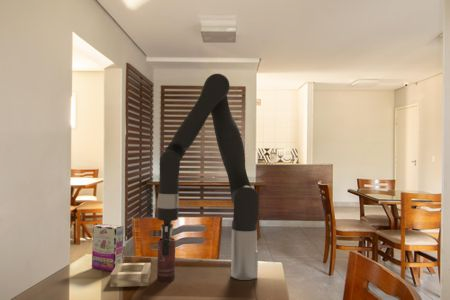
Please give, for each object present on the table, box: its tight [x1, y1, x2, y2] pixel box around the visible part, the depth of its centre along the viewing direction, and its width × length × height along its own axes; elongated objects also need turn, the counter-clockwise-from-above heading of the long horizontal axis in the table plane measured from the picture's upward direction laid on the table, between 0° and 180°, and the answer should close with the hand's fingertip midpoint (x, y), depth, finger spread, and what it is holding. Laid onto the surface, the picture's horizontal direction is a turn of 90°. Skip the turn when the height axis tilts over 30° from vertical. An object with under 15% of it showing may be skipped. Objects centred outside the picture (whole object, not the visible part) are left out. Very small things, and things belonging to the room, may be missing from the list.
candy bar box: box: [91, 223, 124, 273], centre depth 130 cm, size 11×5×16 cm, turn 68°
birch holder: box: [109, 262, 152, 288], centre depth 118 cm, size 12×12×4 cm
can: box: [156, 237, 176, 283], centre depth 120 cm, size 6×6×14 cm
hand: (166, 251), depth 120 cm, fingers open, 8 cm apart
